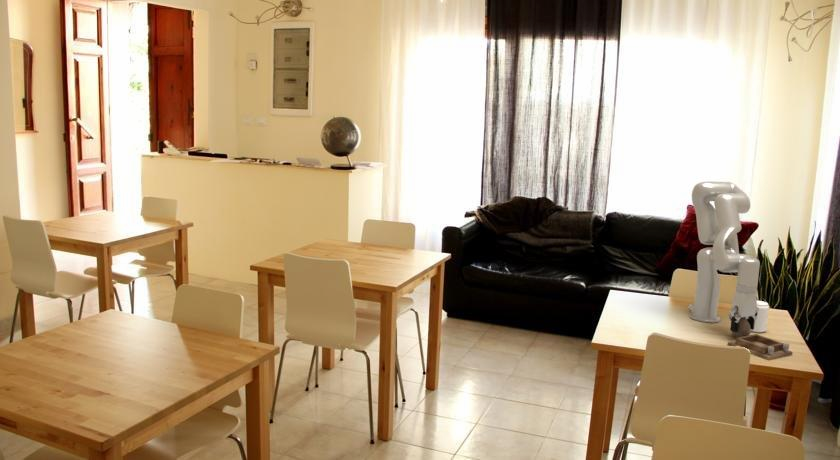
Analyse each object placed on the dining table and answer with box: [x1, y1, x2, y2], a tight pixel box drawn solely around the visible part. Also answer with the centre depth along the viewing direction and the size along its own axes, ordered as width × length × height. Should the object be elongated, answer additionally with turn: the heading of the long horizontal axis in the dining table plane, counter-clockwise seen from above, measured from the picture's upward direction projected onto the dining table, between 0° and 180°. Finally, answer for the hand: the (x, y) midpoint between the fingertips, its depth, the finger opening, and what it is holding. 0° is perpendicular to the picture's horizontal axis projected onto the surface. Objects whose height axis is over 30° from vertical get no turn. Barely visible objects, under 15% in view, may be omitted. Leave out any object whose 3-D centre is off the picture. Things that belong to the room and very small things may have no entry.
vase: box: [731, 317, 752, 339], centre depth 293 cm, size 7×7×9 cm
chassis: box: [726, 333, 794, 361], centre depth 280 cm, size 18×14×4 cm
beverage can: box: [746, 299, 770, 334], centre depth 304 cm, size 8×8×12 cm
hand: (742, 330), depth 293 cm, fingers open, 9 cm apart
